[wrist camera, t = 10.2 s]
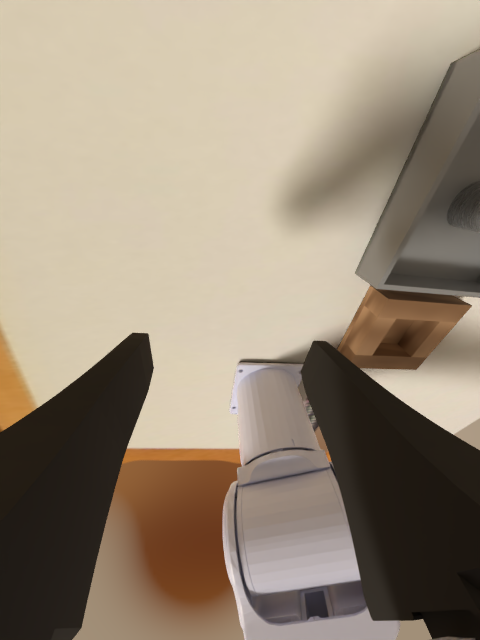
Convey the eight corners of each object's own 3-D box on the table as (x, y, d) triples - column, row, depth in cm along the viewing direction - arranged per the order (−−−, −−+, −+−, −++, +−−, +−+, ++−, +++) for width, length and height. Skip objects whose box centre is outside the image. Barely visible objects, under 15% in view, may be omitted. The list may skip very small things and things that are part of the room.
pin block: (399, 353, 24) (416, 369, 22) (336, 350, 23) (347, 367, 21) (446, 292, 20) (472, 305, 18) (370, 285, 19) (388, 299, 17)
